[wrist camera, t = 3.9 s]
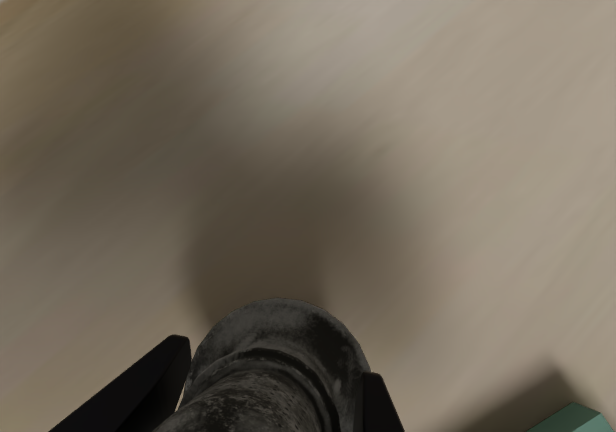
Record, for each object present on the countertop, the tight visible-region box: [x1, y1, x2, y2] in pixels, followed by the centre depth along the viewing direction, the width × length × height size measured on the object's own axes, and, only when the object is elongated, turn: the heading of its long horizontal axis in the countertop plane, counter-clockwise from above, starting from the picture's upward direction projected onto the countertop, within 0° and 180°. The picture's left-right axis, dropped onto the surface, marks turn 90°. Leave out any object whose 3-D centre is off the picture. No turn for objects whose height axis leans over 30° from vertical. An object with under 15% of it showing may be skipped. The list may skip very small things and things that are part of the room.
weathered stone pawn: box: [153, 298, 371, 432], centre depth 9 cm, size 6×6×12 cm
